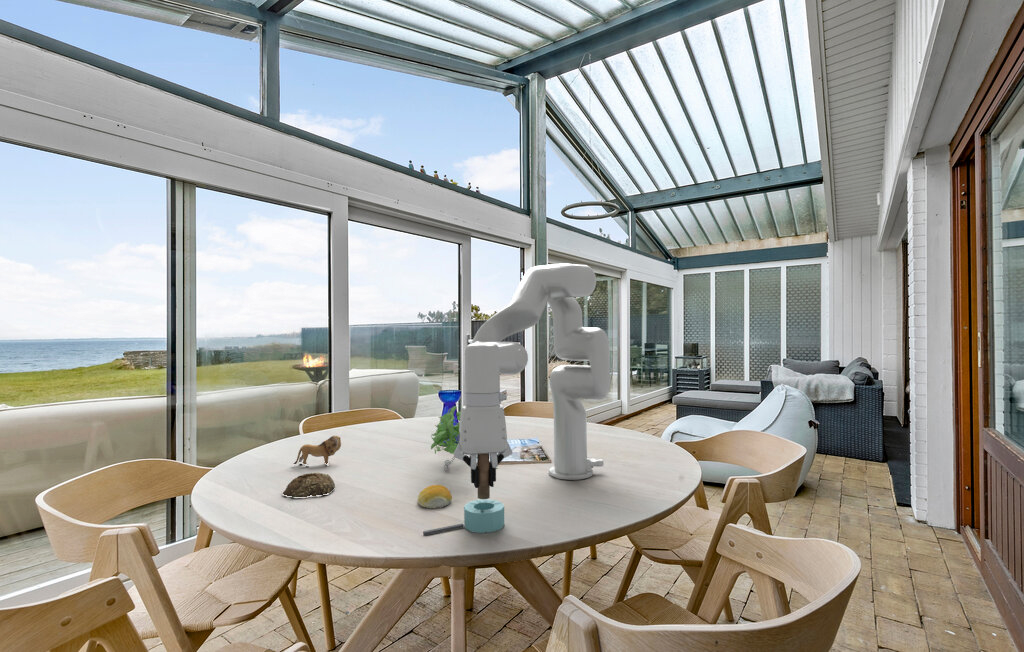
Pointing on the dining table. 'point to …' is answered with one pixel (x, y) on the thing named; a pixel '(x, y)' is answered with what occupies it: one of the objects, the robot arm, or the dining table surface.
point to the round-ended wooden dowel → (483, 476)
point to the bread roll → (434, 496)
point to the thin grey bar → (443, 529)
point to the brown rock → (310, 485)
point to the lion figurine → (320, 449)
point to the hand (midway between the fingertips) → (483, 484)
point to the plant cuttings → (447, 434)
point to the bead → (484, 515)
